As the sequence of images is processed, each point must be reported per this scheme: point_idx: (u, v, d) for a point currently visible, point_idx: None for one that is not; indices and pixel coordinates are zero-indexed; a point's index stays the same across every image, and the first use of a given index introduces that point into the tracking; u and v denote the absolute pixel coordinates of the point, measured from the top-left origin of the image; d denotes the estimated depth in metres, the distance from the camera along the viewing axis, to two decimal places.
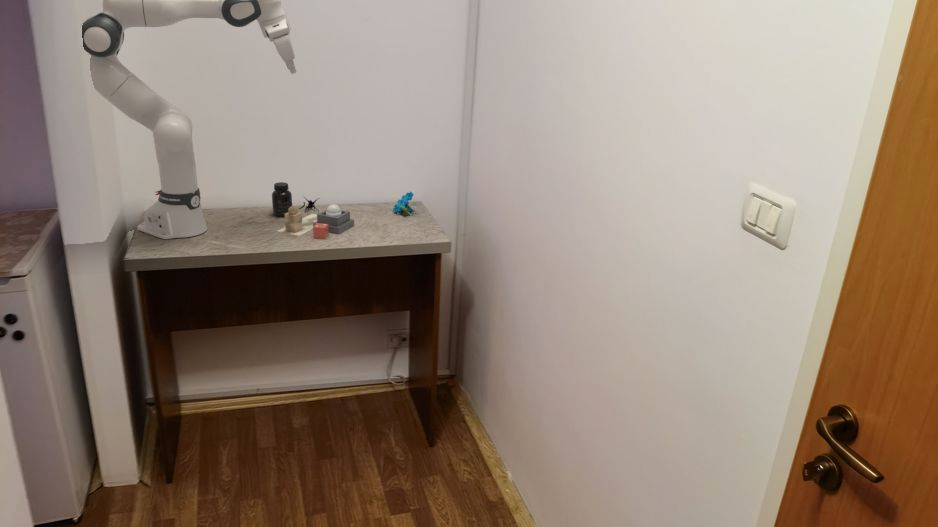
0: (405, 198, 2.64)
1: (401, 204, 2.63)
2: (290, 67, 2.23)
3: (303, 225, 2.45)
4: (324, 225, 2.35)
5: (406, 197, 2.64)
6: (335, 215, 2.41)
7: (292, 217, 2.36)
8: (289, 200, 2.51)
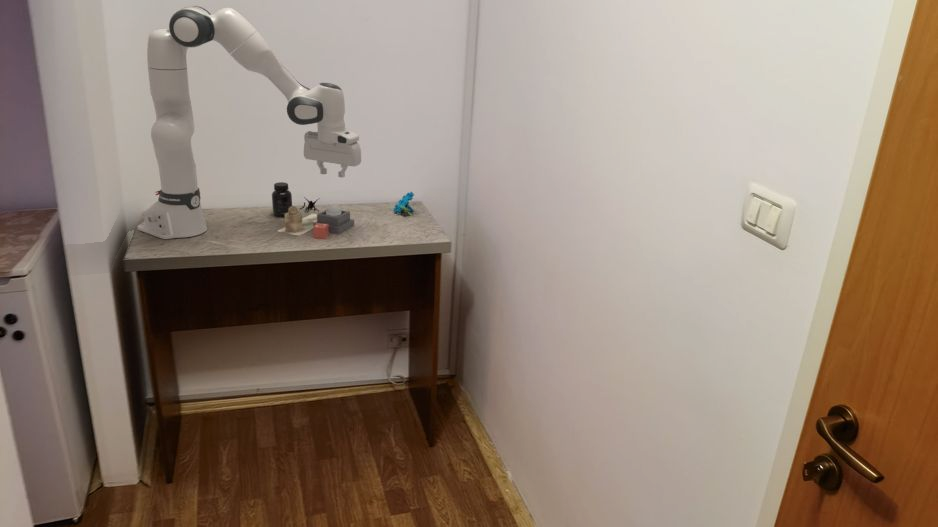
0: (406, 198, 2.64)
1: (401, 204, 2.63)
2: (343, 171, 2.35)
3: (303, 225, 2.45)
4: (324, 225, 2.35)
5: (407, 197, 2.64)
6: (335, 215, 2.41)
7: (292, 217, 2.36)
8: (289, 200, 2.51)
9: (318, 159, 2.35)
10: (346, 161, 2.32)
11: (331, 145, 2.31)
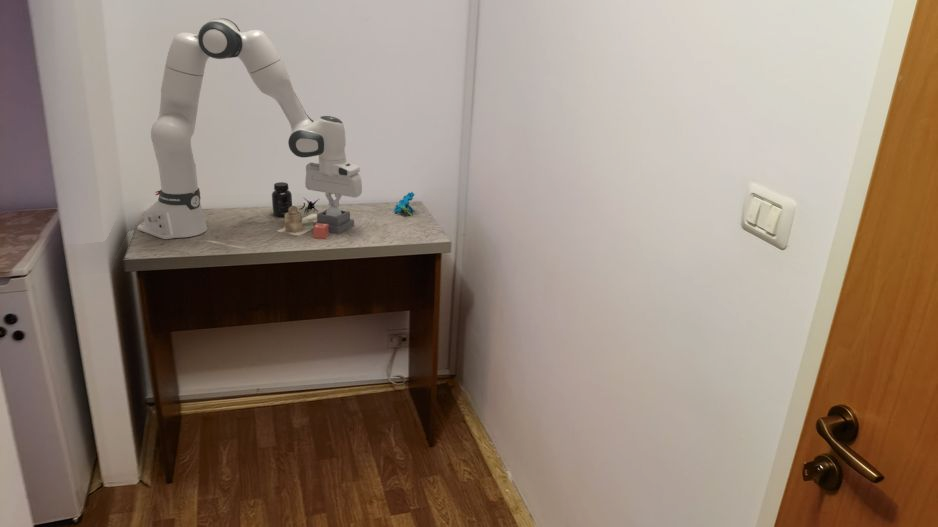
0: (406, 198, 2.64)
1: (402, 204, 2.63)
2: (337, 200, 2.40)
3: (303, 225, 2.45)
4: (324, 225, 2.35)
5: (407, 197, 2.64)
6: (335, 216, 2.41)
7: (292, 217, 2.36)
8: (289, 200, 2.51)
9: (319, 190, 2.40)
10: (347, 192, 2.36)
11: (332, 177, 2.35)
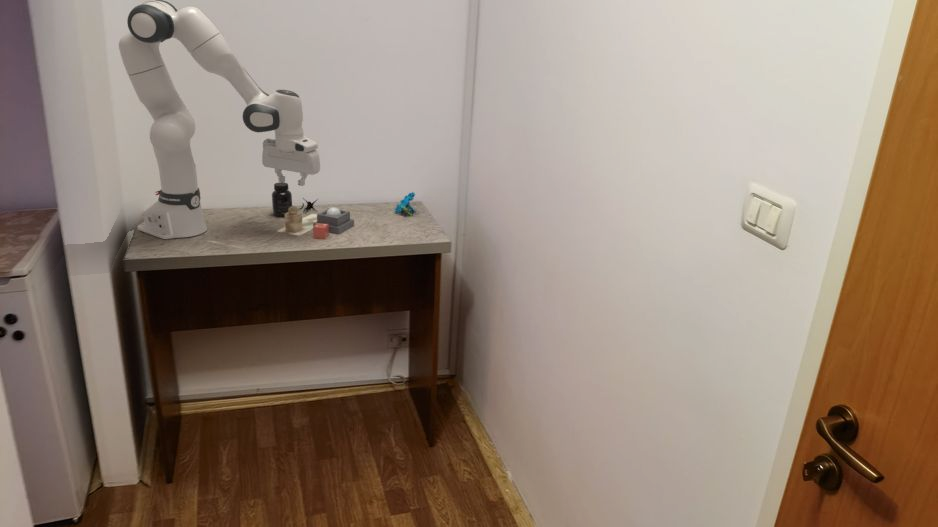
0: (407, 198, 2.64)
1: (402, 204, 2.63)
2: (303, 179, 2.31)
3: (303, 225, 2.45)
4: (324, 225, 2.35)
5: (408, 197, 2.64)
6: None
7: (292, 217, 2.36)
8: (289, 200, 2.51)
9: (277, 167, 2.32)
10: (305, 169, 2.28)
11: (289, 153, 2.27)
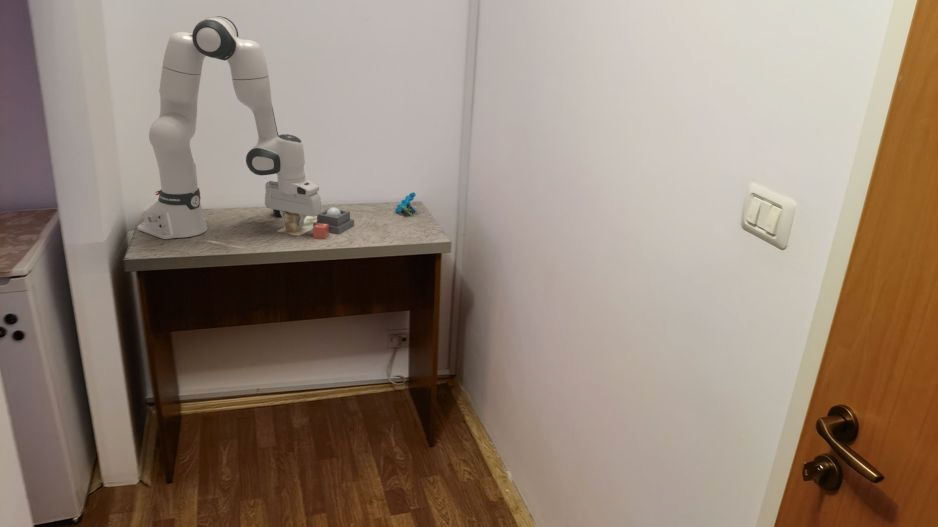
0: (407, 198, 2.64)
1: (403, 204, 2.63)
2: (302, 220, 2.37)
3: (303, 225, 2.45)
4: (324, 225, 2.35)
5: (408, 197, 2.64)
6: None
7: (291, 217, 2.36)
8: None
9: (279, 208, 2.37)
10: (306, 211, 2.33)
11: (291, 196, 2.32)
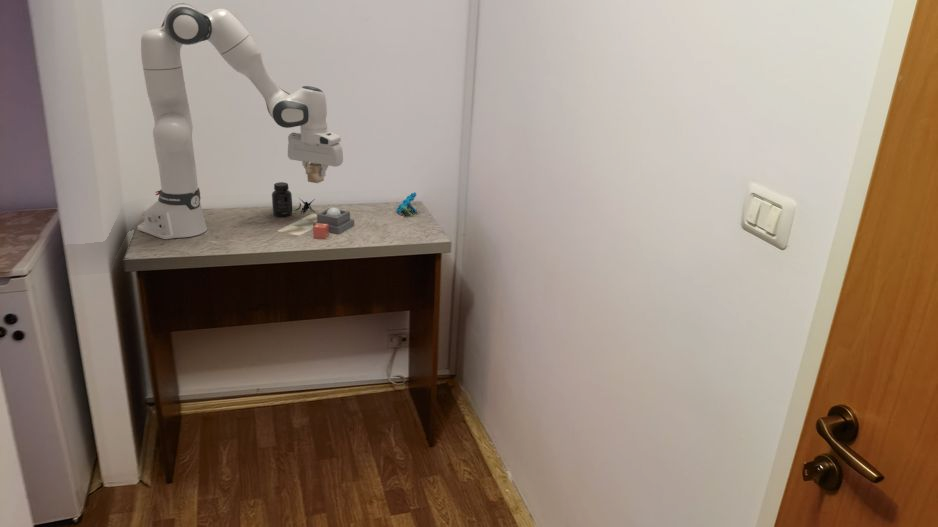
0: (408, 198, 2.64)
1: (403, 204, 2.63)
2: (324, 171, 2.44)
3: (303, 225, 2.45)
4: (324, 225, 2.35)
5: (409, 197, 2.64)
6: None
7: (314, 168, 2.43)
8: (289, 200, 2.51)
9: (301, 159, 2.44)
10: (328, 161, 2.40)
11: (314, 146, 2.39)
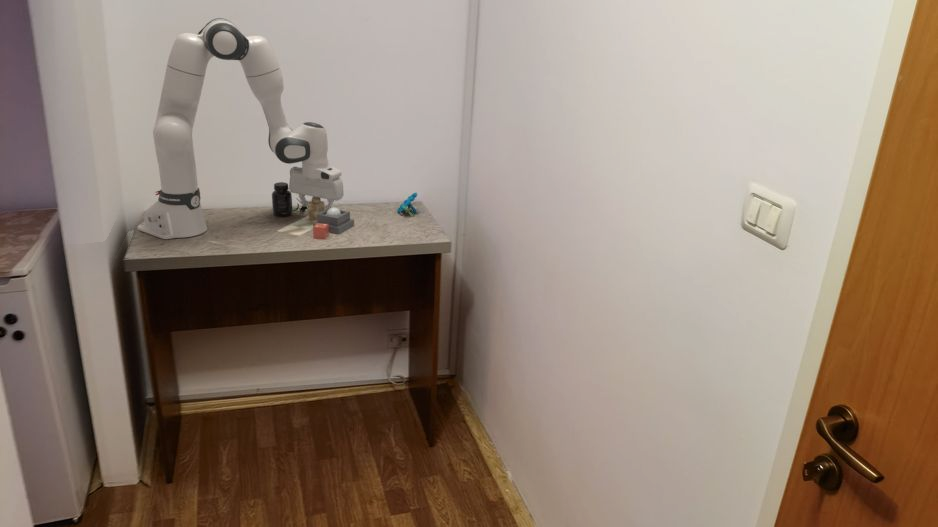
0: (409, 199, 2.64)
1: (404, 204, 2.63)
2: (329, 205, 2.48)
3: (303, 225, 2.45)
4: (324, 225, 2.35)
5: (410, 198, 2.64)
6: None
7: (315, 206, 2.48)
8: (289, 200, 2.51)
9: (303, 193, 2.49)
10: (329, 195, 2.45)
11: (315, 180, 2.44)
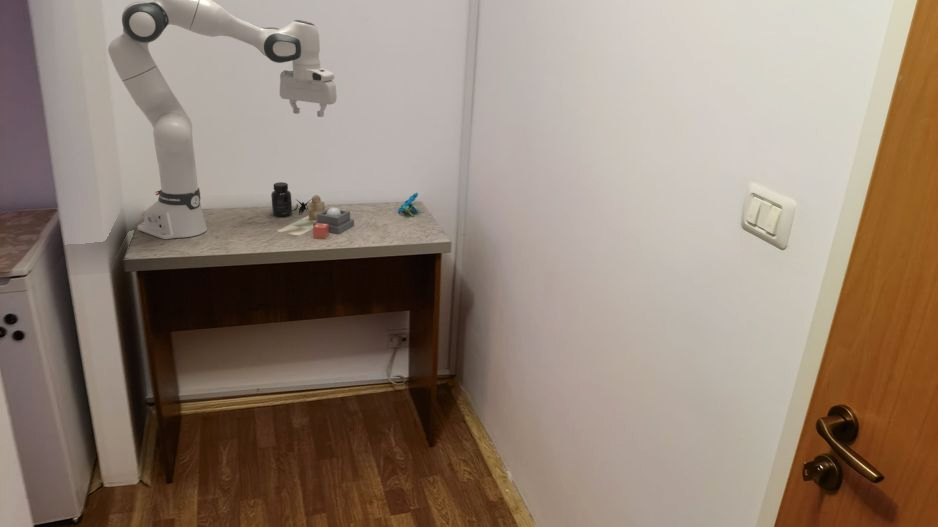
0: (410, 199, 2.64)
1: (405, 204, 2.63)
2: (322, 110, 2.36)
3: (303, 225, 2.45)
4: (324, 225, 2.35)
5: (411, 198, 2.64)
6: None
7: (315, 206, 2.48)
8: (289, 200, 2.51)
9: (294, 98, 2.37)
10: (322, 99, 2.33)
11: (306, 83, 2.32)
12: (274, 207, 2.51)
